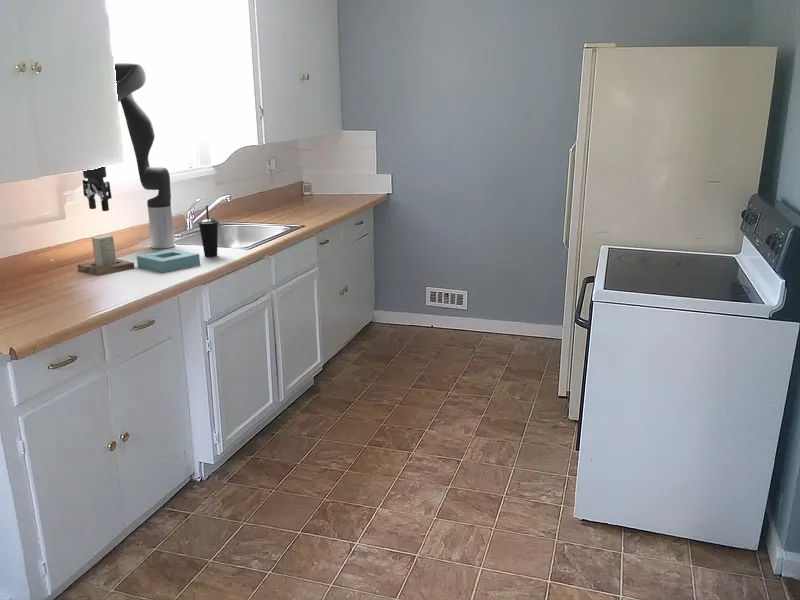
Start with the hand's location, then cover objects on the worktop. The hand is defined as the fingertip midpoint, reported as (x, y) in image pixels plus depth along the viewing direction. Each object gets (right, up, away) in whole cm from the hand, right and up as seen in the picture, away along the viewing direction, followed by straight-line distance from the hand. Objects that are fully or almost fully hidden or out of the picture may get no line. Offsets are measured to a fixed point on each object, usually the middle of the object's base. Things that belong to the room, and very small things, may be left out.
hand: (99, 209), depth 251 cm
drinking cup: (+33, -15, +26) cm, 45 cm away
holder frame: (0, -21, +6) cm, 22 cm away
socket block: (+22, -19, +11) cm, 31 cm away
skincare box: (0, -21, +6) cm, 22 cm away
